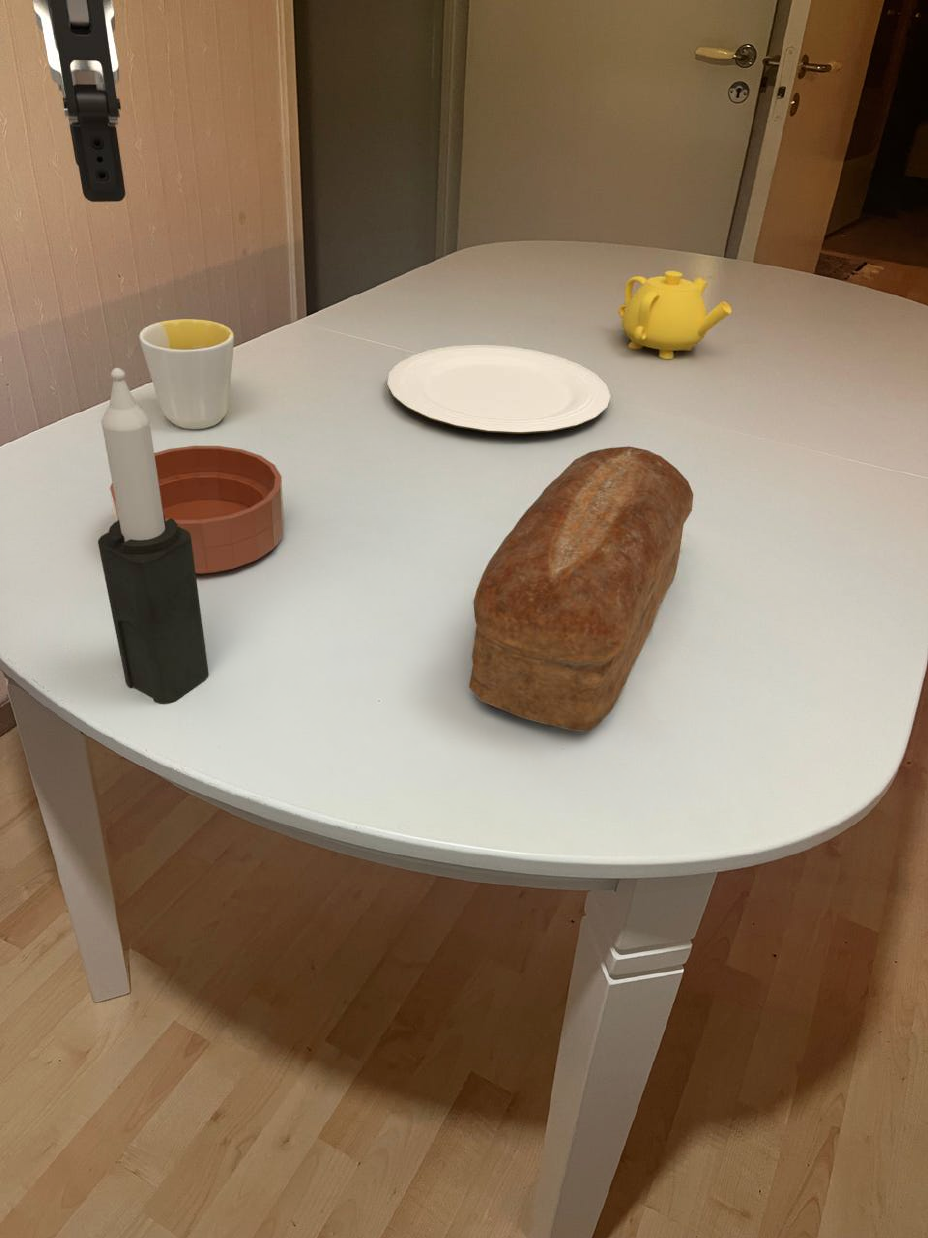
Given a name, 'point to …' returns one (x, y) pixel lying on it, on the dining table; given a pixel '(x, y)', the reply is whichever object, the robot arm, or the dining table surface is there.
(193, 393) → the mug
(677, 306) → the teapot
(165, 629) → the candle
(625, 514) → the bread
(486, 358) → the plate
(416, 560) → the dining table surface
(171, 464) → the bowl
